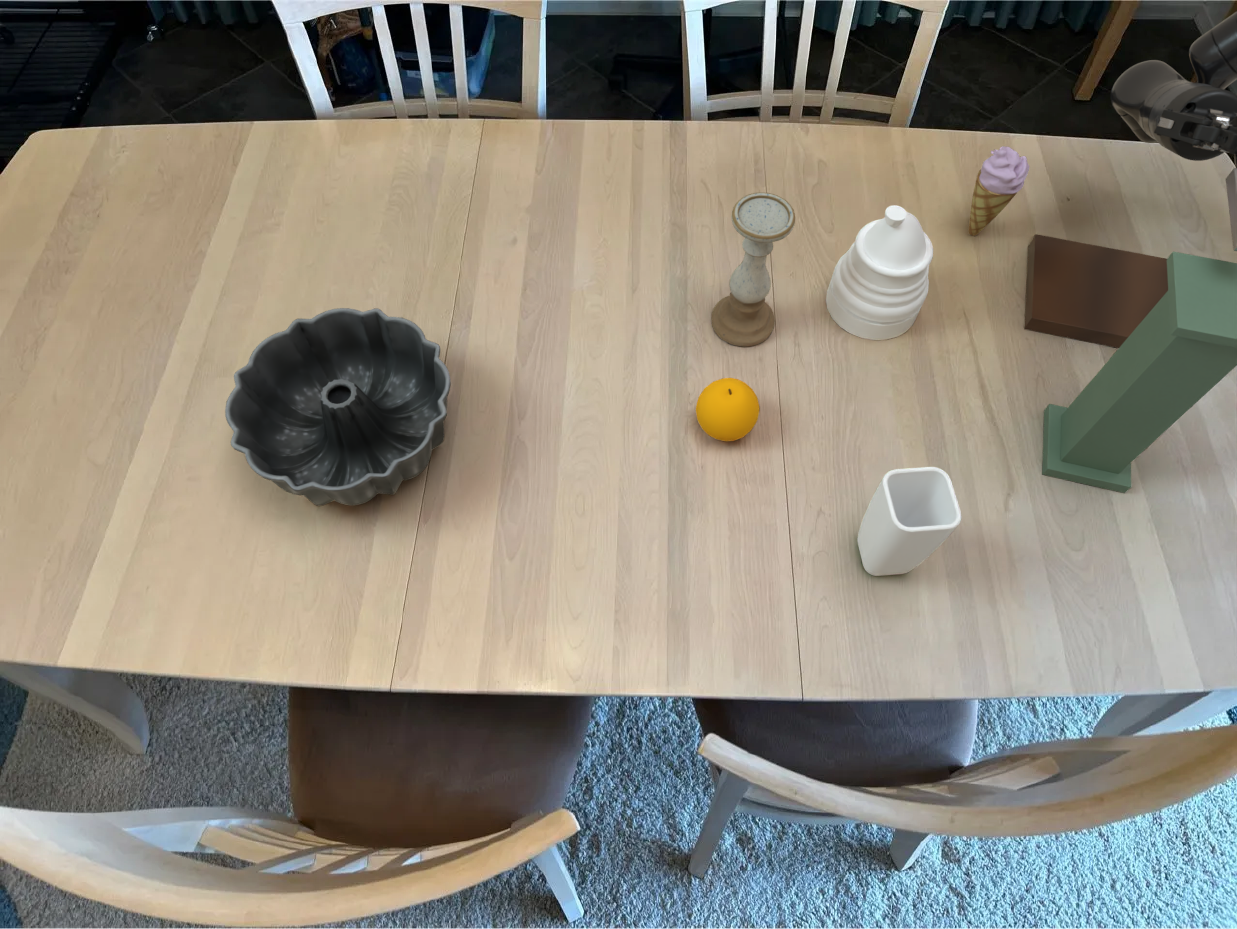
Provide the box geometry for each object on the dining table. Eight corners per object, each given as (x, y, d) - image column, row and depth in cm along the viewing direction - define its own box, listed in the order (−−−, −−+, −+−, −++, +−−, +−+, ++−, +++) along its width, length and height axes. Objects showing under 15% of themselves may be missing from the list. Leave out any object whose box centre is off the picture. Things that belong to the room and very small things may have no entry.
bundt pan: (455, 340, 116) (441, 292, 107) (472, 509, 103) (458, 470, 95) (260, 367, 114) (230, 321, 105) (253, 543, 101) (218, 507, 93)
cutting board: (1170, 272, 122) (1180, 260, 119) (1175, 359, 114) (1186, 348, 112) (1028, 245, 124) (1035, 233, 122) (1024, 329, 117) (1031, 317, 114)
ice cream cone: (948, 214, 127) (986, 131, 114) (990, 214, 127) (1032, 132, 114) (956, 247, 124) (995, 166, 111) (998, 247, 124) (1043, 167, 111)
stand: (1123, 427, 109) (1279, 270, 83) (1124, 493, 104) (1290, 349, 78) (1043, 410, 110) (1172, 250, 84) (1041, 474, 105) (1177, 327, 80)
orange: (717, 460, 107) (723, 429, 100) (682, 415, 110) (686, 383, 103) (767, 431, 109) (777, 399, 102) (731, 388, 112) (738, 355, 105)
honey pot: (856, 352, 115) (894, 260, 99) (808, 286, 120) (837, 189, 105) (935, 321, 117) (984, 227, 102) (885, 258, 123) (923, 159, 107)
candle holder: (720, 352, 115) (738, 246, 97) (704, 303, 119) (718, 193, 101) (781, 341, 116) (810, 234, 98) (763, 293, 120) (788, 182, 102)
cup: (920, 580, 99) (966, 527, 86) (859, 584, 98) (896, 532, 85) (905, 524, 102) (947, 464, 89) (846, 528, 102) (879, 469, 89)
